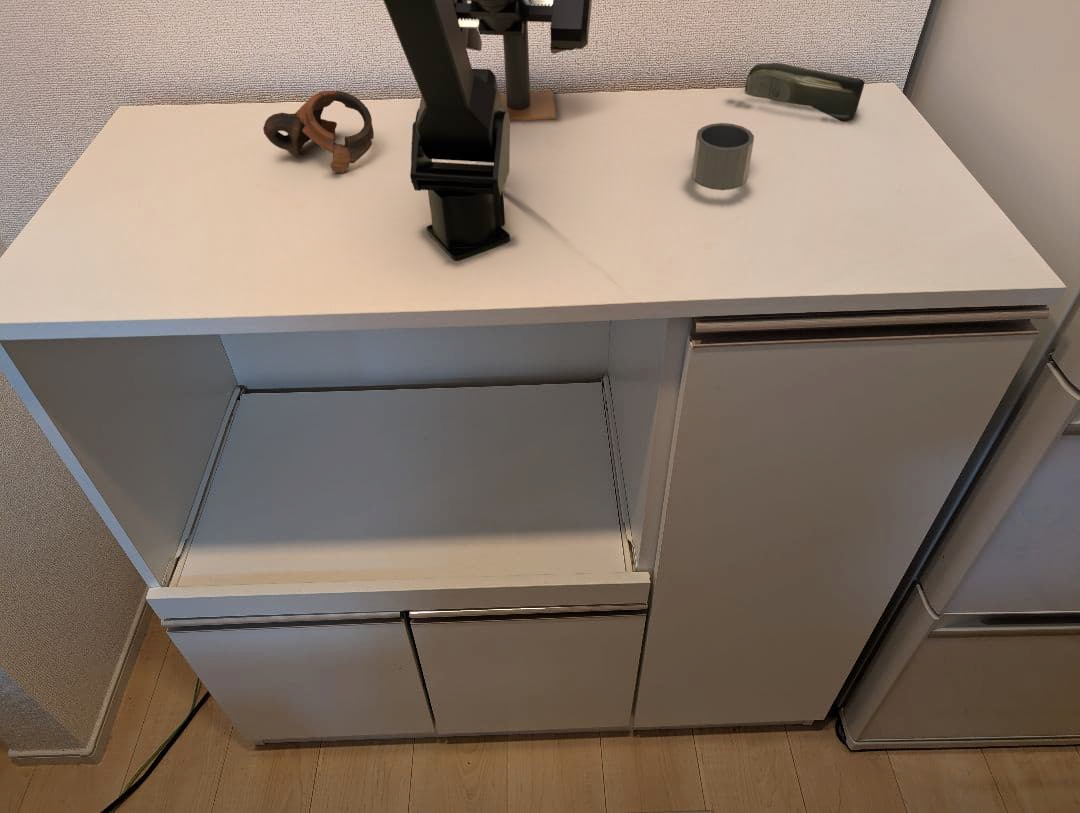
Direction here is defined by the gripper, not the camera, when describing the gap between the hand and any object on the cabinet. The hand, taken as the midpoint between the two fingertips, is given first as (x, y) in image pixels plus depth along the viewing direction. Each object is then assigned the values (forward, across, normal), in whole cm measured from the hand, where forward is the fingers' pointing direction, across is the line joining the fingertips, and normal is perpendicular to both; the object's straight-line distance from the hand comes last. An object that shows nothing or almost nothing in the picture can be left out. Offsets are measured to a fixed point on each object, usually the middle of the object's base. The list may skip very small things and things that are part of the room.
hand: (517, 47), depth 97 cm
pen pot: (-7, -25, +18) cm, 31 cm away
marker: (+4, 0, +5) cm, 7 cm away
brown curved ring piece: (-6, +20, +16) cm, 27 cm away
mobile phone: (+7, -34, +4) cm, 35 cm away
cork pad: (+5, 0, +6) cm, 7 cm away
